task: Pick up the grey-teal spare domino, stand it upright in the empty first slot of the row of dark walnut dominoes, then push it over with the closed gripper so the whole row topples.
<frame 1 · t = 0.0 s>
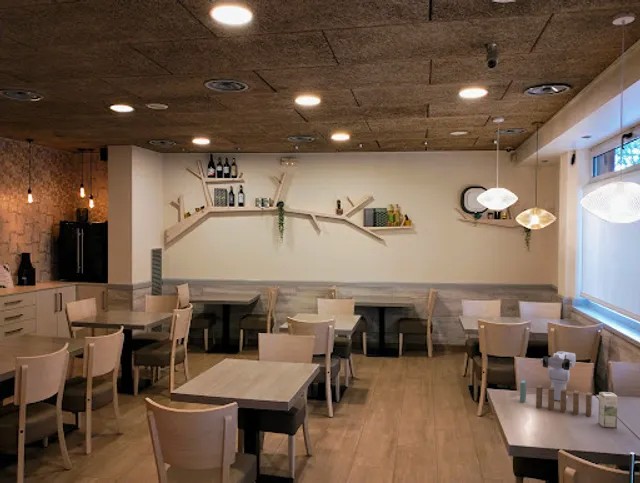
hand: (554, 364, 263), 22 cm above the table, tool horizontal, fingers open, 7 cm apart
domino 2: (539, 406, 267), on the table
spare domino: (522, 400, 276), on the table
domino 5: (575, 412, 259), on the table
domino 6: (588, 414, 256), on the table
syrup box: (607, 426, 242), on the table
domino 3: (551, 408, 265), on the table
domino 4: (563, 410, 262), on the table
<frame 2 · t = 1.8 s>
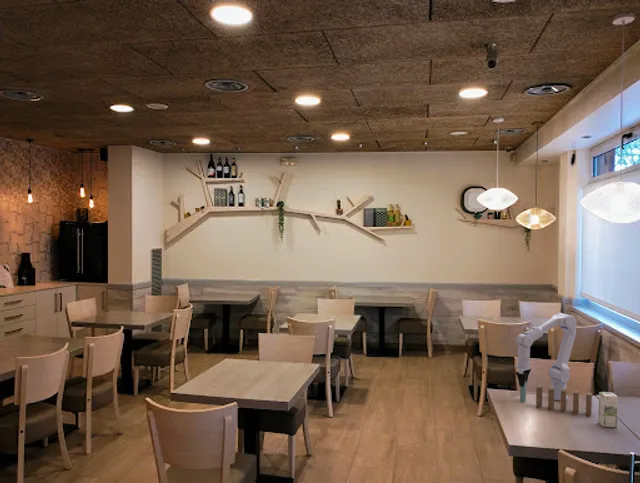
hand: (523, 384, 276), 8 cm above the table, tool pointing down, fingers open, 7 cm apart
nothing on the table moved.
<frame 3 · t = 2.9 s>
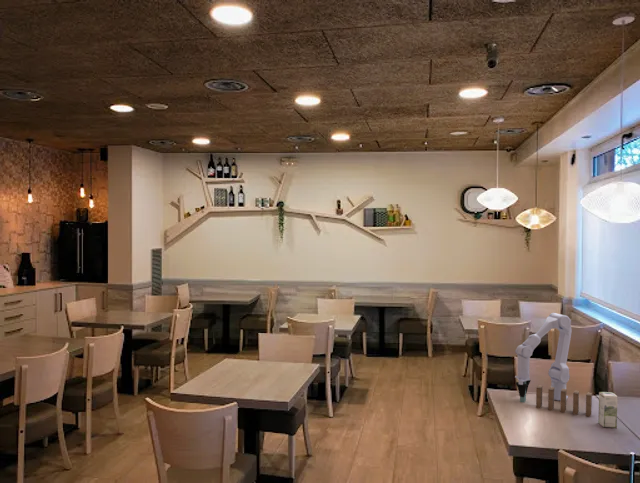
hand: (523, 395, 276), 3 cm above the table, tool pointing down, fingers closed on spare domino, 5 cm apart
spare domino: (522, 400, 276), on the table, touching gripper
everything else where it was.
when the fingers open (4 cm above the table, at t = 6.5 s): spare domino stays where it is, on the table.
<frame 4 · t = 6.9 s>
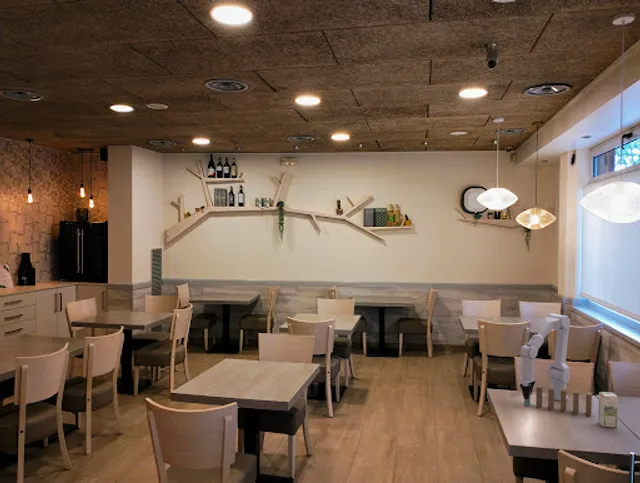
hand: (527, 396, 270), 4 cm above the table, tool pointing down, fingers open, 7 cm apart
spare domino: (527, 404, 270), on the table
everything else where it was.
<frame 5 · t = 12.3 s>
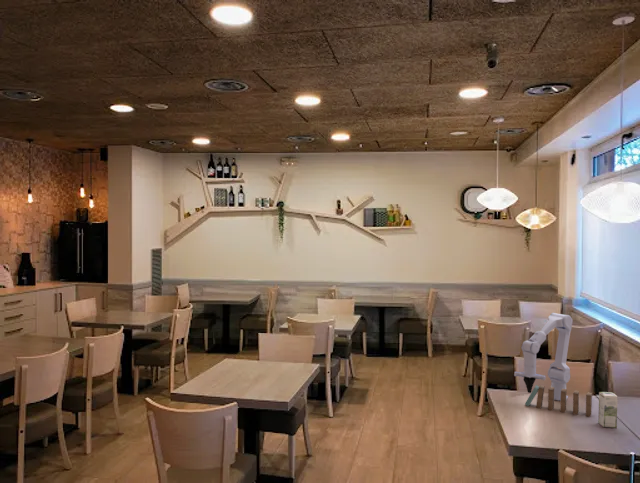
hand: (529, 392, 270), 6 cm above the table, tool pointing down, fingers closed
domino 2: (539, 406, 267), on the table, tilted 6°
spare domino: (527, 403, 270), on the table, tilted 26°
everything else where it was.
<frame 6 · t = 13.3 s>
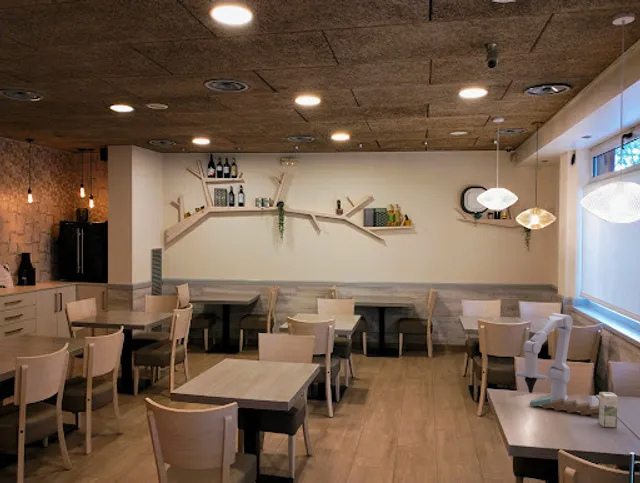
hand: (530, 392, 269), 6 cm above the table, tool pointing down, fingers closed
domino 2: (543, 405, 266), point 1 cm above the table, tilted 68°, touching domino 3, spare domino
spare domino: (531, 403, 269), point 1 cm above the table, tilted 69°, touching domino 2
domino 5: (580, 411, 258), point 1 cm above the table, tilted 71°, touching domino 4
domino 6: (591, 414, 256), on the table, tilted 90°
domino 3: (554, 407, 264), point 1 cm above the table, tilted 69°, touching domino 2, domino 4
domino 4: (567, 409, 261), point 1 cm above the table, tilted 70°, touching domino 3, domino 5
everything else where it was.
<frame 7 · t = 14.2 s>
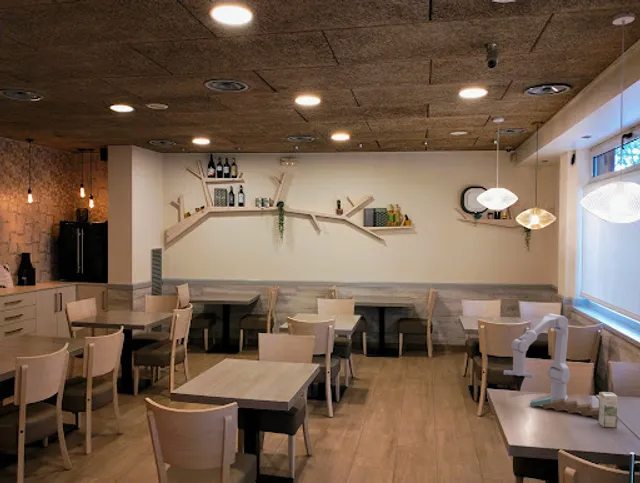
hand: (518, 390, 272), 6 cm above the table, tool pointing down, fingers closed
domino 5: (582, 412, 257), point 1 cm above the table, tilted 73°
domino 3: (555, 407, 263), point 1 cm above the table, tilted 69°, touching domino 2
domino 4: (568, 409, 260), point 1 cm above the table, tilted 70°
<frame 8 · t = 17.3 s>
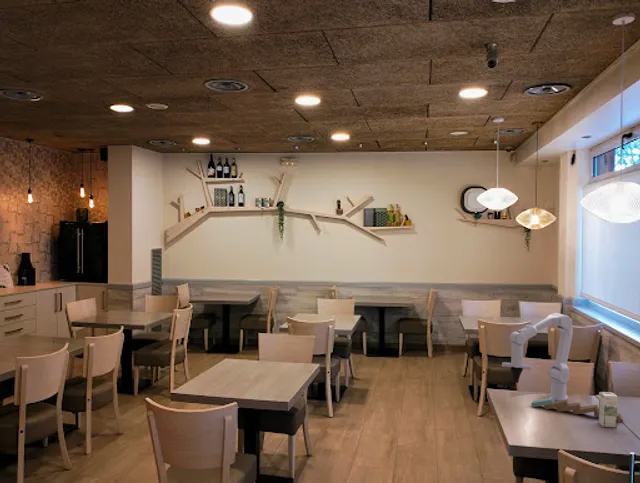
hand: (516, 382, 276), 9 cm above the table, tool pointing down, fingers closed
domino 2: (545, 406, 265), point 1 cm above the table, tilted 69°, touching domino 3, spare domino
domino 5: (595, 412, 253), point 2 cm above the table, tilted 90°, touching domino 4, domino 6
domino 6: (598, 416, 253), on the table, tilted 90°, touching domino 5
domino 3: (557, 408, 262), point 1 cm above the table, tilted 72°, touching domino 2
domino 4: (575, 410, 258), point 1 cm above the table, tilted 69°, touching domino 5
at the end: domino 6 tilted 90°; spare domino tilted 70°; spare domino inside the target area (1.2 cm from its centre), point 0.9 cm above the table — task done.
